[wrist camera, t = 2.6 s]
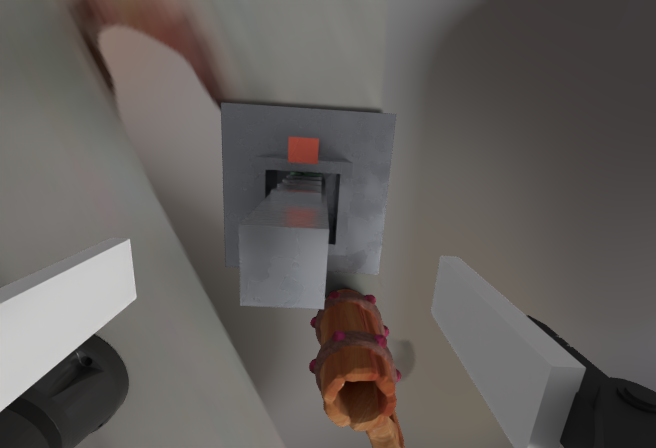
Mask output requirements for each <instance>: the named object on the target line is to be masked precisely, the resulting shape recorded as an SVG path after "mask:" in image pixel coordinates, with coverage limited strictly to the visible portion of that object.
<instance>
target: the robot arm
mask: <svg viewBox="0 0 656 448" xmlns="http://www.w3.org/2000/svg"><path fill="white" fill-rule="evenodd" d="M136 298H137V297H136V289H135V280H134V271H133V263H132V254H131V246H130V239H124V238H110V239H107V240H105V241H103V242H101V243H99V244H96V245H94V246H92V247H90V248H87V249H85V250H83V251H81V252H79V253H76V254H74V255H72V256H70V257H68V258H65V259H63V260H61V261H59V262H57V263H54V264H52V265H50V266H48V267H45V268H43V269H41V270H39V271H37V272H34V273H32V274H30V275H28V276H26V277H23V278H21V279H19V280H17V281H15V282H12V283H10V284H8V285H6V286H3V287H1V288H0V448H74V447H75V446H76V445H77V444H78V443H80V442H81V441H82V440H83V439H84V438H85V437H86V436H88V435H89V434H90V433H92V432H94V431H96V430H98V429H99V428H100V427H102V426H103V425H104V424H106V423H107V422H108V421H109V420H110V419H111V417H112V416H113V415H114V414H115V412H116V411H117V410H118V408H119V407H120V406H121V405H122V403H123V402H124V400H125V398H126V395H127V392H128V386H129V382H128V374H127V371H126V368H125V366H124V364H123V362H122V360H121V359H120V357H119V356H118V354H117V353H116V352H115V351H114V350H113V349H112V348H111V347H110V346H109V345H108V344H107V343H105V342H104V341H103V340H101V339H100V338H98V337H96V336H94V335H93V334H94V333H95V332H97V331H98V330H99V329H100V328H101V327H103V326H104V325H105V324H106V323H107V322H109V321H110V320H111V319H112V318H113V317H115V316H116V315H117V314H118V313H119V312H121V311H122V310H123V309H124V308H125V307H127V306H128V305H129V304H130V303H131V302H133V301H134V300H135V299H136ZM431 314H432V316H433V317H434V319H435V320H436V322H437V324H438V325H439V327H440V329H441V330H442V332H443V333H444V335H445V337H446V338H447V340H448V342H449V343H450V345H451V346H452V348H453V350H454V351H455V353H456V355H457V356H458V358H459V359H460V361H461V363H462V364H463V366H464V367H465V369H466V371H467V372H468V374H469V376H470V377H471V379H472V381H473V382H474V384H475V385H476V387H477V389H478V390H479V392H480V394H481V395H482V397H483V398H484V400H485V402H486V403H487V405H488V407H489V408H490V410H491V411H492V413H493V415H494V416H495V418H496V419H497V421H498V423H499V424H500V426H501V428H502V429H503V431H504V432H505V434H506V436H507V437H508V439H509V441H510V442H511V444H512V445H513V447H514V448H559V447H560V444H562V445H563V446H564V448H656V392H654V391H653V390H650V389H648V388H646V387H644V386H642V385H639V384H637V383H634V382H631V381H627V380H625V379H620V378H612V377H610V378H609V377H608V376H607V375H605V374H604V373H603V372H602V371H601V370H599V369H598V368H597V367H596V366H594V365H593V364H592V363H591V362H590V361H588V360H587V359H586V358H585V357H584V356H583V355H581V354H580V353H579V352H578V351H577V350H575V349H574V348H573V347H570V345H569V344H568V343H567V342H566V341H565V340H563V339H562V338H559V335H557V334H556V333H555V332H554V331H553V330H551V329H550V328H549V327H548V326H547V325H545V324H543V323H541V322H540V321H538V320H536V319H534V318H532V317H531V316H529V315H528V316H527V315H525V314H523V313H522V312H521V311H520V310H519V309H517V308H516V307H515V306H514V305H513V304H512V303H511V302H510V301H508V300H507V299H506V298H505V297H504V296H502V294H500V293H499V292H498V291H497V290H496V289H495V288H493V287H492V286H491V285H490V284H489V283H488V282H487V281H485V280H484V279H483V278H482V277H481V276H480V275H478V274H477V273H476V272H475V271H474V270H473V269H472V268H470V267H469V266H468V265H467V264H466V263H465V262H463V261H462V260H461V259H460V258H459V257H455V256H454V257H453V256H440V261H439V267H438V273H437V279H436V285H435V290H434V296H433V303H432V308H431Z"/></svg>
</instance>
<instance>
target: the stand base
mask: <svg viewBox="0 0 656 448" xmlns="http://www.w3.org/2000/svg"><path fill="white" fill-rule="evenodd" d="M221 121H222V122H221V123H222V155H223V156H222V158H223V194H224V226H225V227H224V229H225V262H226V264H225V265H226V267H240V261H239V224H240V223H241V222H242V221H243V220H244V219H245V218H246V217H247V216H248V215H249V214H250V213H251V212H252V211H253V210H254V209H255V208H256V207H257V206H258V205H259V204H260V203H261V202H262V201H263V200H264V199H265V198H266V197H267V196H268V195H269V194H270V193H271V190H272V189H275V188H276V187H277V184H278V183H281V182H282V181H283V178H286V177H287V175H290V172H307V173H322V175H321V178H325V185H326V197H327V209H328V221H329V240H328V255H327V271H326V272H344V273H364V274H378V272H379V263H380V254H381V245H382V237H383V228H384V219H385V210H386V201H387V192H388V183H389V174H390V166H391V157H392V148H393V139H394V130H395V121H396V114H386V113H371V112H356V111H341V110H326V109H311V108H296V107H281V106H266V105H251V104H236V103H221Z"/></svg>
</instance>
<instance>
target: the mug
mask: <svg viewBox="0 0 656 448" xmlns="http://www.w3.org/2000/svg"><path fill="white" fill-rule="evenodd" d="M375 302H376V299H375V297H374V296H373V295H366V296H364V295H361V294H359V293H358V292H357V291H354V290H350V289H341V290H338V291H332V292H330V296H328V297H327V299H326V300H325V302H324V309H319V311H318V314H317V316H316V317H314V318H313V319H312V320H311V325H312V327H314V328H315V329H316V336H317V339H318V341H319V343H320V345H321V349H320V350H319V353H318V355H317V358H316V359H314V360H312V361H311V363H310V365H309V369H310V371H311V372H312V373H314V374H315V376H316V383H317V385H318V388H319V390H320V391H321V395H322V398H323V399H324V410H325V412H326V414H327V415H328V417H329V418H330V419H331V420H332V421H333V422H334V423H335V424H336V425H338V426H340V427H343V426H345V425H349V426H350V427H351V428H352V429H353V430H354V431H366V433H367V435H368V437H369V439H370V442H371V444H372V447H373V448H405V446H404V440H403V436H402V433H401V429H400V426H399V422H398V419H397V416H396V412H395V407H396V400H397V399H396V396H395V384H396V382H398V381H399V380H400V379H401V374H400V372H399V371H398V370H397V369H396V368H395V365H394V362H393V359H392V355H391V352H390V351H389V349H388V347H387V346H386V345H387V340H386V338H385V337H387V336H388V334H389V329H388V328H387V327H386V326H385V325H383V321H382V318H381V315H380V312H379V310H378V309H377V307H376V306H375Z"/></svg>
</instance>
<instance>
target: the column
mask: <svg viewBox="0 0 656 448" xmlns="http://www.w3.org/2000/svg"><path fill="white" fill-rule="evenodd" d="M321 175H322V173H307V172H290V175H287V177H286V178H283V181H282V182H281V183H278V184H277V187H276V188H275V189H272V190H271V193H270V194H269V195H268V196H267V197H266V198H265V199H264V200H263V201H262V202H261V203H260V204H259V205H258V206H257V207H256V208H255V209H254V210H253V211H252V212H251V213H250V214H249V215H248V216H247V217H246V218H245V219H244V220H243V221H242V222H241V223H240V224H239V261H240V305H241V306H261V307H262V306H263V307H284V308H307V309H324V302H325V286H326V271H327V255H328V240H329V221H328V209H327V197H326V185H325V178H321Z"/></svg>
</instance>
